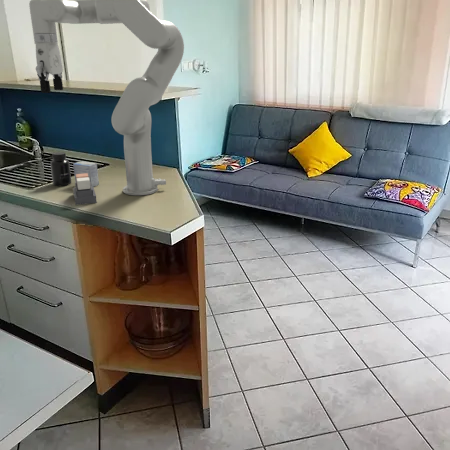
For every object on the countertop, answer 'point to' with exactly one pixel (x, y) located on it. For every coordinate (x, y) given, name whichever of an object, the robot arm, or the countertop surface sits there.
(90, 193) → the key panel
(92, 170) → the medicine box
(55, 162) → the supplement bottle
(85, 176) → the terracotta key
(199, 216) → the countertop surface
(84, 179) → the ivory key
